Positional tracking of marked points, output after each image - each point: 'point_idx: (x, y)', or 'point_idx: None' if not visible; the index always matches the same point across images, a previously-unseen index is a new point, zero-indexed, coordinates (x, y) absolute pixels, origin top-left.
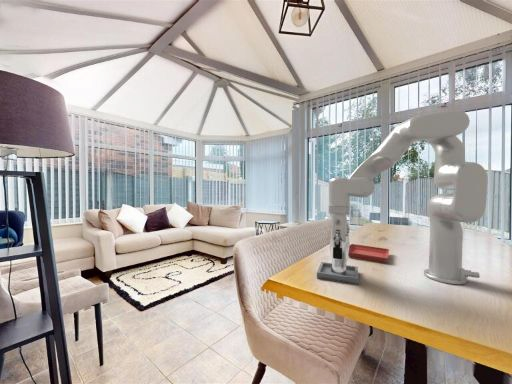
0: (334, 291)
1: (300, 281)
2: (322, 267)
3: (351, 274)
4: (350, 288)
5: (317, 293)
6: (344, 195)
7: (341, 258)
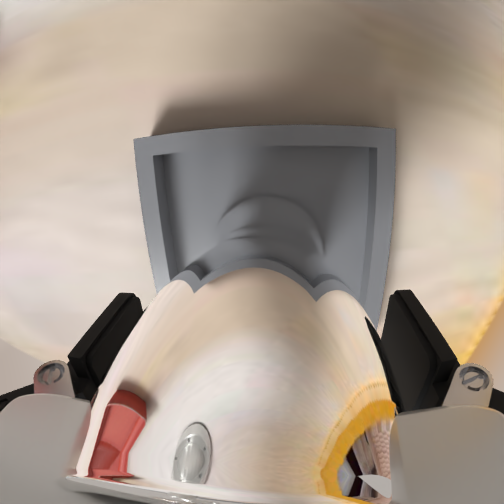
0: (480, 248)
1: None
2: None
3: (255, 168)
4: (439, 175)
5: (497, 303)
6: None
7: (409, 295)
